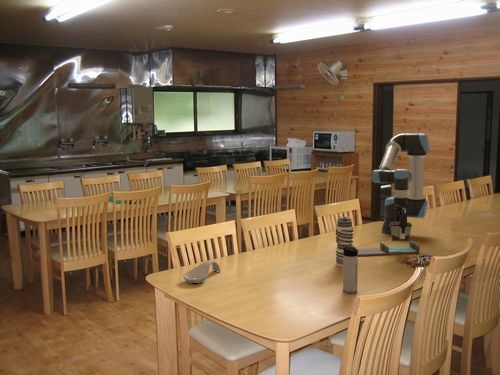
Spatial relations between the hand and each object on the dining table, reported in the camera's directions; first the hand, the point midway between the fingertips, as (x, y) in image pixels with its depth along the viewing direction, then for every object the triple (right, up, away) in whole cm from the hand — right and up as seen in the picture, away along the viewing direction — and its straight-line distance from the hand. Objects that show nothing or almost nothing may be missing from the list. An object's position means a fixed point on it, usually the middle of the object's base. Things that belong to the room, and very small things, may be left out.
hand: (399, 237), depth 283 cm
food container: (0, -2, 0) cm, 2 cm away
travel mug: (-40, -18, -61) cm, 75 cm away
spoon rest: (-107, -16, -39) cm, 115 cm away
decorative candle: (-35, -12, -21) cm, 43 cm away
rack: (-9, -9, 0) cm, 12 cm away
